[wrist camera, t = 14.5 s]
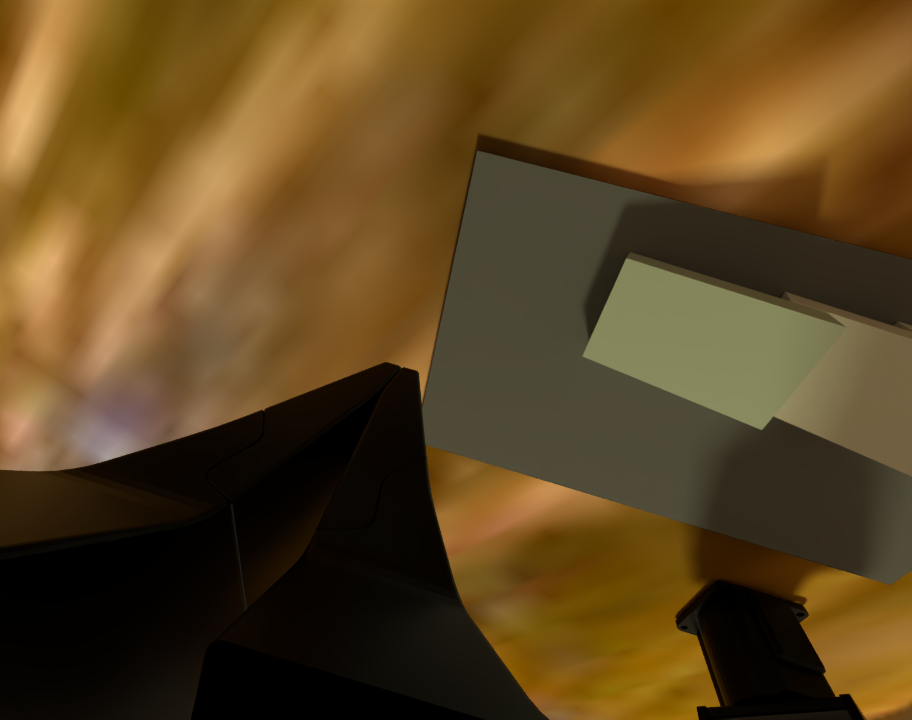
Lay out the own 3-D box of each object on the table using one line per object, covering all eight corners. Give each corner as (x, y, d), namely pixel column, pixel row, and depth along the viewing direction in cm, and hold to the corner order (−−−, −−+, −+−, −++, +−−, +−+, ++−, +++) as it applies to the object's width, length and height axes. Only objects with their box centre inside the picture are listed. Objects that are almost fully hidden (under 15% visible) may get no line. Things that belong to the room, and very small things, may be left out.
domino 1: (589, 343, 20) (753, 408, 18) (582, 356, 19) (761, 430, 16) (630, 251, 18) (827, 313, 15) (626, 258, 16) (846, 327, 14)
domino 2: (724, 379, 20) (920, 462, 17) (723, 394, 18) (940, 488, 15) (785, 291, 17) (1030, 369, 14) (791, 300, 16) (1067, 389, 13)
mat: (882, 575, 25) (890, 584, 24) (417, 436, 26) (415, 441, 26) (1219, 336, 16) (1242, 342, 15) (478, 150, 18) (477, 150, 17)
